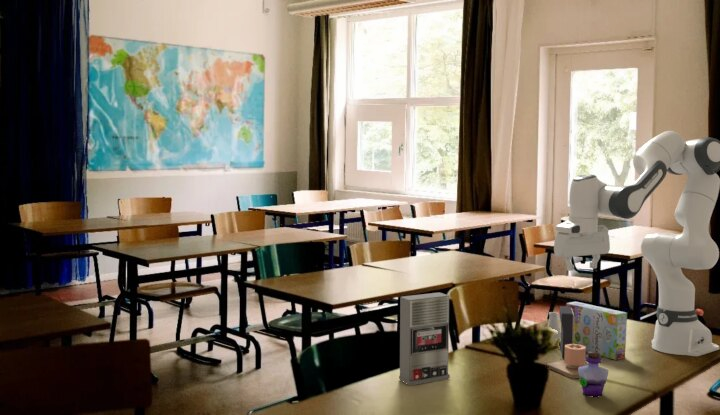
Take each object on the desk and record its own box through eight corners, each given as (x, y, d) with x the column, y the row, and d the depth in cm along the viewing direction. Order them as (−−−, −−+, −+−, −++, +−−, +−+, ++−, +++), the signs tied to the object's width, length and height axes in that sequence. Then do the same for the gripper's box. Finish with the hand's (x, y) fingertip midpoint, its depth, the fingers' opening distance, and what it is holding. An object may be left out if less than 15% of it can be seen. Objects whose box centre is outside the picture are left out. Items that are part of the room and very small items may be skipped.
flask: (564, 339, 269) (565, 311, 268) (562, 344, 262) (563, 316, 261) (543, 337, 271) (543, 310, 270) (540, 342, 265) (541, 314, 264)
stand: (576, 362, 242) (576, 340, 241) (603, 373, 231) (604, 349, 230) (545, 367, 237) (546, 344, 236) (572, 378, 226) (573, 354, 225)
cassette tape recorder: (409, 386, 219) (410, 300, 216) (399, 380, 224) (399, 296, 222) (450, 379, 225) (451, 296, 223) (438, 373, 230) (439, 292, 228)
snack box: (626, 358, 247) (628, 312, 246) (615, 360, 244) (617, 314, 242) (574, 343, 265) (575, 300, 263) (563, 345, 261) (564, 302, 260)
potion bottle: (570, 394, 212) (572, 352, 211) (584, 386, 219) (586, 345, 217) (600, 401, 206) (601, 358, 205) (613, 393, 213) (615, 351, 212)
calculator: (574, 360, 245) (575, 314, 243) (560, 359, 245) (561, 313, 244) (571, 350, 255) (573, 306, 254) (558, 349, 256) (559, 305, 255)
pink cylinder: (575, 358, 238) (576, 343, 237) (589, 364, 232) (589, 347, 232) (560, 361, 235) (560, 345, 235) (573, 366, 230) (574, 350, 229)
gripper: (600, 223, 249) (599, 265, 251) (551, 226, 241) (550, 270, 242) (615, 225, 244) (613, 268, 245) (565, 228, 235) (563, 273, 236)
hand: (581, 269), depth 243 cm, fingers open, 8 cm apart
